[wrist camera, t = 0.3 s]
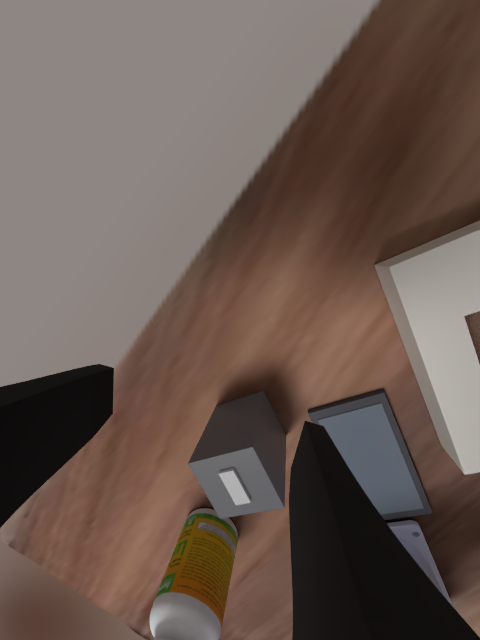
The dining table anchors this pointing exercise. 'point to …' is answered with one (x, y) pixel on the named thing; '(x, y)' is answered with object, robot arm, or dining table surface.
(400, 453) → the phone slab
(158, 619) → the supplement bottle
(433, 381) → the outlet plate
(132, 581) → the dining table surface
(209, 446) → the block
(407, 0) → the dining table surface
